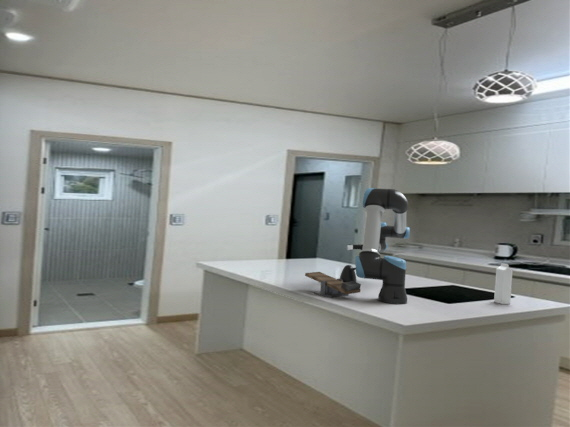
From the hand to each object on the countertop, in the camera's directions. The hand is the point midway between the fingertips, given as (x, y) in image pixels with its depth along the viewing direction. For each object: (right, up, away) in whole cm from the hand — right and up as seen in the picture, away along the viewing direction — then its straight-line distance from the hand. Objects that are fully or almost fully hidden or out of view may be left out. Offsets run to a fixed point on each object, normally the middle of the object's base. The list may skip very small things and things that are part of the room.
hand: (357, 249), depth 281 cm
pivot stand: (-18, -23, -21) cm, 36 cm away
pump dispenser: (-7, -24, -8) cm, 26 cm away
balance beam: (-17, -17, -21) cm, 32 cm away
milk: (+78, -29, -15) cm, 85 cm away
